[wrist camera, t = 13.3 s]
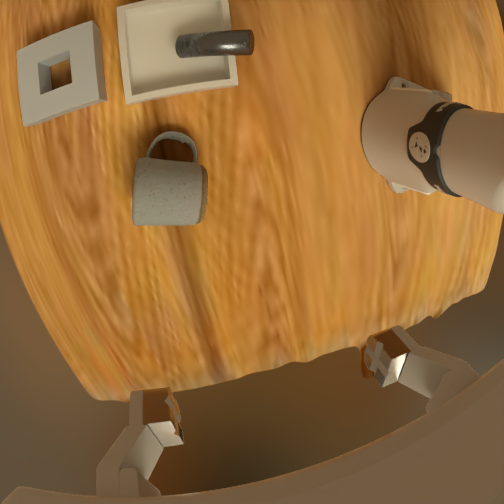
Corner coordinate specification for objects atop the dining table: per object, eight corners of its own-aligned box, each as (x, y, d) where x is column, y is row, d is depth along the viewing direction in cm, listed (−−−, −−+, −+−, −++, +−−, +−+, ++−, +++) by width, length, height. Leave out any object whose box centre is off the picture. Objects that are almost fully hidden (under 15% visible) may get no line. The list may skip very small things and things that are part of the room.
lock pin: (186, 32, 27) (253, 28, 25) (189, 55, 29) (255, 52, 27) (173, 37, 25) (245, 31, 23) (177, 61, 27) (247, 57, 26)
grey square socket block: (100, 28, 25) (92, 20, 21) (107, 100, 29) (99, 99, 26) (30, 55, 23) (16, 51, 19) (37, 124, 28) (23, 126, 24)
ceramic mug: (199, 215, 39) (205, 236, 32) (136, 213, 36) (129, 235, 30) (207, 133, 34) (215, 136, 28) (140, 130, 32) (132, 132, 25)
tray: (222, -2, 27) (226, -10, 24) (233, 87, 32) (238, 84, 30) (120, 14, 24) (116, 7, 22) (129, 105, 30) (125, 104, 28)
